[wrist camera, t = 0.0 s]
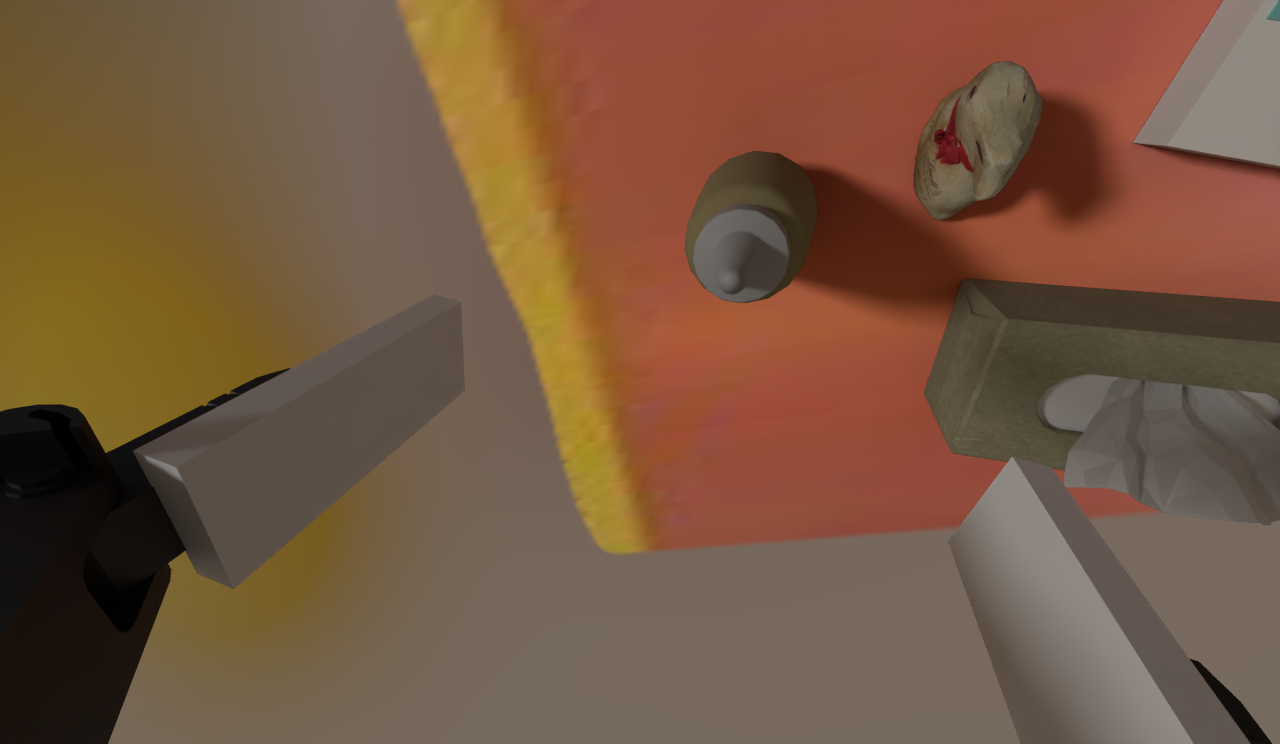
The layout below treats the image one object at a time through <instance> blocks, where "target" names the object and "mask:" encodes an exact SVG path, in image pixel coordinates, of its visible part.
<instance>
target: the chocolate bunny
mask: <svg viewBox="0 0 1280 744" xmlns="http://www.w3.org/2000/svg"><path fill="white" fill-rule="evenodd" d="M1041 111H1042V99H1041V97H1040V96H1039V94H1038V92H1037V91H1036V88H1035V85H1034V83H1033V80H1032V78H1031V76H1030V75H1029V73H1028V72H1027V71H1026V70H1025V68H1024V67H1022V66H1020V65H1018V64H1016V63H1013V62H1011V61H1002V62H996V63H993V64H991V65H989V66H988V67H986V68H985V69H984V70H982V71H981V72H980V73H979V74H978V75H977V76H975V77H974V79H973V80H972V81H971V82H970V83H969V84H968V85H966V86H964V87H962V88H959V89H957V90H955V91H954V92H952V93H951V94H950V95H949V96H947V97H946V98H945V99H943V100H942V101H941V102H940V104H939V106H938V108H937V110H936V111H935V113H934V115H933V116H932V118H931V119H930V121H929V122H928V123H927V124H926V126H925V128H924V130H923V132H922V135H921V137H920V141H919V144H918V150H917V156H916V157H915V160H916V162H915V168H914V189H915V193H916V195H917V198H918V199H919V201H920V202H921V203H922V205H923V206H924V208H925V209H926V210H927V212H928V213H929V214H930V216H932V217H933V218H935V219H937V220H944V219H948V218H950V217H952V216H954V215H955V214H956V213H958V212H959V211H961V210H963V209H965V208H966V207H968V206H970V205H971V204H973V203H974V202H976V201H980V200H986V199H990V198H993V197H994V196H996V195H997V194H998V193H999V192H1000V191H1001V190H1002V189H1003V187H1004V186H1005V185H1006V183H1007V182H1008V180H1009V179H1010V177H1011V176H1012V174H1013V173H1014V172H1015V170H1016V168H1017V166H1018V164H1019V162H1020V161H1021V159H1022V158H1023V157H1024V155H1025V154H1026V152H1027V150H1028V149H1029V147H1030V145H1031V142H1032V140H1033V137H1034V134H1035V131H1036V128H1037V126H1038V123H1039V122H1040V121H1042V120H1040V116H1041V115H1042V114H1041Z"/></svg>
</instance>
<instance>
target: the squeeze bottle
mask: <svg viewBox="0 0 1280 744" xmlns="http://www.w3.org/2000/svg"><path fill="white" fill-rule="evenodd" d="M817 215H818V206H817V200H816V194H815V187H814V185H813V184H812V183H811V181H810V180H809V178H808V177H807V175H806V174H805V172H804V171H803V169H802V168H801V166H799V165H798V164H796V163H794V162H793V161H791V160H789V159H788V158H786V157H784V156H783V155H781V154H779V153H770V152H759V151H752V152H749V153H746V154H743V155H740V156H737V157H734V158H731V159H729V160H728V161H726V162H725V163H724V164H723V165H722V166H721V167H719V168H718V169H717V170H716V171H715V172H714V173H712V174H711V175H710V177H709V178H708V180H707V182H706V184H705V186H704V188H703V190H702V191H701V193H700V195H699V197H698V199H697V202H696V205H695V207H694V210H693V212H692V215H691V217H690V220H689V222H688V225H687V232H686V241H685V252H686V256H687V259H688V263H689V266H690V270H691V272H692V273H693V274H694V276H695V277H696V278H697V279H698V281H699V282H700V283H701V285H702V286H703V287H704V288H705V289H707V290H708V291H709V292H710V293H712V294H714V295H715V296H717V297H719V298H720V299H722V300H725V301H731V302H737V303H748V302H753V301H758V300H763V299H767V298H770V297H771V296H773V295H774V294H776V293H777V292H779V291H781V290H782V289H784V288H785V287H787V286H788V285H789V284H790V283H791V281H792V280H793V279H794V277H795V276H796V275H797V273H798V272H799V270H800V269H801V268H802V266H803V264H804V261H805V258H806V255H807V251H808V248H809V245H810V242H811V239H812V235H813V231H814V227H815V223H816V219H817Z"/></svg>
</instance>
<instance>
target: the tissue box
mask: <svg viewBox="0 0 1280 744" xmlns="http://www.w3.org/2000/svg"><path fill="white" fill-rule="evenodd" d="M924 395H925V397H926V399H927V401H928V403H929V405H930V408H931V410H932V412H933V414H934V416H935V418H936V420H937V423H938V425H939V427H940V429H941V431H942V433H943V436H944V438H945V440H946V442H947V444H948V446H949V449H950V451H951V452H952V453H953V454H960V455H966V456H973V457H979V458H986V459H992V460H999V461H1005V462H1008V461H1009V460H1010V459H1011V457H1012V456H1013V457H1016V458H1020V459H1023V460H1027V461H1031V462H1034V463H1038V464H1041V465H1045V466H1048V467H1051V468H1052V469H1057V470H1064V471H1065V476H1064V486H1065V487H1092V488H1109V489H1112V490H1116V491H1119V492H1123V493H1127V494H1129V495H1130V496H1132V497H1133V498H1134V499H1136V500H1137V501H1138V502H1139V503H1142V504H1144V505H1147V506H1149V507H1151V508H1154V509H1156V510H1159V511H1161V512H1164V513H1170V514H1176V515H1181V516H1187V517H1193V518H1203V519H1213V520H1224V521H1234V522H1250V523H1261V524H1263V525H1271V522H1274V521H1278V520H1280V302H1273V301H1259V300H1246V299H1233V298H1219V297H1206V296H1193V295H1179V294H1166V293H1153V292H1139V291H1126V290H1113V289H1100V288H1086V287H1073V286H1060V285H1046V284H1033V283H1020V282H1006V281H993V280H980V279H965V280H963V281H962V282H961V285H960V288H959V291H958V294H957V297H956V300H955V303H954V306H953V309H952V312H951V315H950V317H949V320H948V323H947V326H946V329H945V332H944V335H943V338H942V341H941V344H940V347H939V350H938V353H937V356H936V359H935V362H934V364H933V367H932V370H931V373H930V376H929V379H928V382H927V385H926V388H925V391H924Z"/></svg>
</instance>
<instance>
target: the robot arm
mask: <svg viewBox="0 0 1280 744" xmlns="http://www.w3.org/2000/svg"><path fill="white" fill-rule="evenodd" d="M463 391H465V383H464V361H463V335H462V311H461V302H460V301H456V300H453V299H449V298H446V297H442V296H438V295H435V294H434V295H432V296H431V297H429V298H427V299H425V300H423V301H421V302H419V303H417V304H415V305H413V306H411V307H409V308H407V309H405V310H404V311H402V312H400V313H398V314H396V315H394V316H392V317H390V318H388V319H386V320H385V321H383V322H381V323H378V324H377V325H375V326H373V327H371V328H369V329H367V330H365V331H363V332H361V333H359V334H357V335H355V336H354V337H351V338H350V339H348V340H346V341H344V342H342V343H340V344H338V345H336V346H334V347H332V348H331V349H328V350H326V351H324V352H323V353H321V354H319V355H317V356H315V357H313V358H311V359H309V360H307V361H305V362H303V363H301V364H300V365H297V366H296V367H294V368H292V369H290V368H289V369H285V370H281V371H278V372H274V373H271V374H267V375H264V376H260V377H257V378H255V379H253V380H251V381H249V382H247V383H245V384H243V385H241V386H239V387H237V388H235V389H233V390H231V392H230V394H223V395H221V396H219V397H217V398H215V399H214V400H211V401H210V402H208V404H207V405H206V406H203V405H201V406H199V407H198V408H196V409H193V410H191V411H190V412H188V413H186V414H183V415H182V416H180V417H178V418H176V419H174V420H172V421H170V422H168V423H166V424H164V425H162V426H160V427H158V428H156V429H154V430H152V431H150V432H148V433H146V434H144V435H142V436H140V437H138V438H136V439H134V440H132V441H130V442H128V443H126V444H124V445H122V446H120V447H118V448H116V449H114V450H111V451H109V452H107V453H105V451H104V450H103V448H102V446H101V444H100V443H99V441H98V439H97V437H96V436H95V434H94V432H93V430H92V428H91V427H90V425H89V423H88V421H87V420H86V418H85V416H84V415H83V414H82V413H81V412H80V411H79V410H78V409H77V408H74V407H69V406H65V405H59V404H58V405H32V406H26V407H20V408H13V409H8V410H4V411H1V412H0V744H108V742H109V740H110V737H111V734H112V732H113V729H114V726H115V724H116V721H117V719H118V716H119V713H120V711H121V708H122V706H123V703H124V700H125V698H126V695H127V692H128V690H129V687H130V684H131V682H132V679H133V677H134V674H135V671H136V669H137V666H138V664H139V661H140V658H141V656H142V653H143V650H144V648H145V645H146V643H147V640H148V637H149V635H150V632H151V630H152V627H153V624H154V622H155V619H156V616H157V614H158V611H159V608H160V606H161V603H162V600H163V598H164V596H165V593H166V590H167V587H168V585H169V582H170V577H171V576H170V575H171V568H170V566H169V565H168V563H169V562H170V561H172V560H173V559H174V558H175V557H177V556H179V555H180V554H181V553H183V552H184V551H186V553H187V555H188V557H189V559H190V561H191V563H192V565H193V567H194V569H195V570H196V572H197V574H200V575H202V576H204V577H207V578H209V579H211V580H214V581H216V582H219V583H221V584H223V585H226V586H228V587H230V588H233V589H234V588H236V587H237V586H238V585H239V584H240V583H241V582H242V581H244V580H245V579H246V578H247V577H248V576H250V575H251V574H252V573H253V572H254V571H255V570H257V569H258V568H259V567H260V566H261V565H262V564H263V563H265V562H266V561H267V560H268V559H269V558H270V557H272V556H273V555H274V554H275V553H276V552H278V551H279V550H280V549H281V548H282V547H283V546H284V545H286V544H287V543H288V542H289V541H290V540H292V539H293V538H294V537H295V536H296V535H297V534H298V533H300V532H301V531H302V530H303V529H304V528H305V527H307V526H308V525H309V524H310V523H311V522H312V521H314V520H315V519H316V518H317V517H318V516H319V515H321V513H323V512H324V511H325V510H326V509H327V508H329V507H330V506H331V505H332V504H333V503H335V502H336V501H337V500H338V499H339V498H340V497H341V496H343V495H344V494H345V493H346V492H347V491H349V490H350V489H351V488H352V487H353V486H354V485H355V484H356V483H358V482H359V481H360V480H361V479H362V478H364V477H365V476H366V475H367V474H368V473H369V472H370V471H372V470H373V469H374V468H375V467H376V466H378V465H379V464H380V463H381V462H382V461H383V460H385V459H386V458H387V457H388V456H389V455H390V454H391V453H392V452H394V451H395V450H396V449H397V448H399V447H400V446H401V445H402V444H403V443H404V442H405V441H407V440H408V439H409V438H410V437H411V436H412V435H414V434H415V433H416V432H417V431H418V430H419V429H421V428H422V427H423V426H424V425H425V424H426V423H428V422H429V421H430V420H431V419H432V418H433V417H435V416H436V415H437V414H438V413H439V412H440V411H442V410H443V409H444V408H445V407H446V406H447V405H449V404H450V403H451V402H452V401H453V400H454V399H455V398H457V397H458V396H459V395H460V394H461V393H463ZM948 543H949V545H950V548H951V551H952V553H953V556H954V559H955V562H956V565H957V568H958V570H959V573H960V576H961V579H962V582H963V584H964V587H965V590H966V593H967V596H968V598H969V601H970V604H971V607H972V609H973V612H974V615H975V618H976V620H977V623H978V626H979V629H980V632H981V634H982V637H983V640H984V643H985V646H986V648H987V651H988V654H989V657H990V659H991V662H992V665H993V668H994V671H995V673H996V676H997V679H998V682H999V684H1000V687H1001V690H1002V693H1003V696H1004V699H1005V701H1006V704H1007V707H1008V710H1009V713H1010V715H1011V718H1012V721H1013V724H1014V726H1015V729H1016V732H1017V735H1018V738H1019V740H1020V743H1021V744H1272V743H1271V741H1270V740H1269V739H1268V737H1267V736H1266V735H1265V733H1264V732H1263V731H1262V729H1261V728H1260V727H1259V725H1258V724H1257V723H1256V722H1255V720H1254V719H1253V718H1252V716H1251V715H1250V714H1249V712H1248V711H1247V710H1246V708H1245V707H1244V706H1243V704H1242V703H1241V702H1240V701H1239V700H1238V699H1237V698H1236V697H1235V696H1234V695H1233V694H1232V693H1231V692H1230V691H1229V690H1228V689H1227V688H1226V687H1225V686H1224V685H1223V684H1222V683H1220V682H1219V681H1218V680H1217V679H1216V678H1215V677H1214V676H1213V675H1212V674H1211V673H1210V672H1209V671H1208V670H1207V669H1206V668H1205V667H1204V666H1203V665H1202V664H1201V663H1200V662H1198V661H1195V660H1192V659H1189V658H1188V656H1187V655H1186V653H1185V652H1184V651H1183V649H1182V648H1181V646H1180V645H1179V644H1178V642H1177V641H1176V640H1175V638H1174V637H1173V636H1172V634H1171V633H1170V631H1169V630H1168V628H1167V627H1166V626H1165V624H1164V623H1163V622H1162V620H1161V619H1160V617H1159V616H1158V615H1157V613H1156V612H1155V611H1154V609H1153V608H1152V607H1151V605H1150V603H1149V602H1148V601H1147V599H1146V598H1145V597H1144V595H1143V594H1142V592H1141V591H1140V590H1139V588H1138V587H1137V586H1136V584H1135V583H1134V581H1133V580H1132V579H1131V577H1130V576H1129V574H1128V573H1127V572H1126V570H1125V569H1124V567H1123V566H1122V565H1121V563H1120V562H1119V560H1118V559H1117V558H1116V556H1115V555H1114V554H1113V552H1112V551H1111V549H1110V548H1109V547H1108V545H1107V544H1106V543H1105V541H1104V540H1103V538H1102V537H1101V536H1100V534H1099V533H1098V531H1097V530H1096V529H1095V527H1094V526H1093V524H1092V523H1091V522H1090V520H1089V519H1088V518H1087V516H1086V515H1085V513H1084V512H1083V511H1082V509H1081V508H1080V506H1079V505H1078V504H1077V502H1076V501H1075V499H1074V498H1073V497H1072V495H1071V494H1070V493H1069V491H1068V490H1067V488H1066V487H1065V486H1064V484H1063V483H1062V481H1061V480H1060V479H1059V477H1058V476H1057V475H1056V473H1055V472H1054V470H1053V469H1052V468H1051V467H1048V466H1045V465H1041V464H1038V463H1034V462H1031V461H1027V460H1023V459H1020V458H1016V457H1013V456H1012V457H1011V459H1010V460H1009V461H1008V463H1007V464H1006V465H1005V467H1004V468H1003V469H1002V471H1001V472H1000V473H999V475H998V476H997V477H996V479H995V480H994V481H993V483H992V484H991V485H990V487H989V488H988V489H987V491H986V492H985V493H984V495H983V496H982V497H981V499H980V500H979V501H978V503H977V504H976V505H975V507H974V508H973V509H972V510H971V512H970V513H969V514H968V516H967V517H966V518H965V520H964V521H963V522H962V524H961V525H960V526H959V528H958V529H957V530H956V532H955V533H954V534H953V536H952V537H951V538H950V540H949V541H948Z"/></svg>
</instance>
